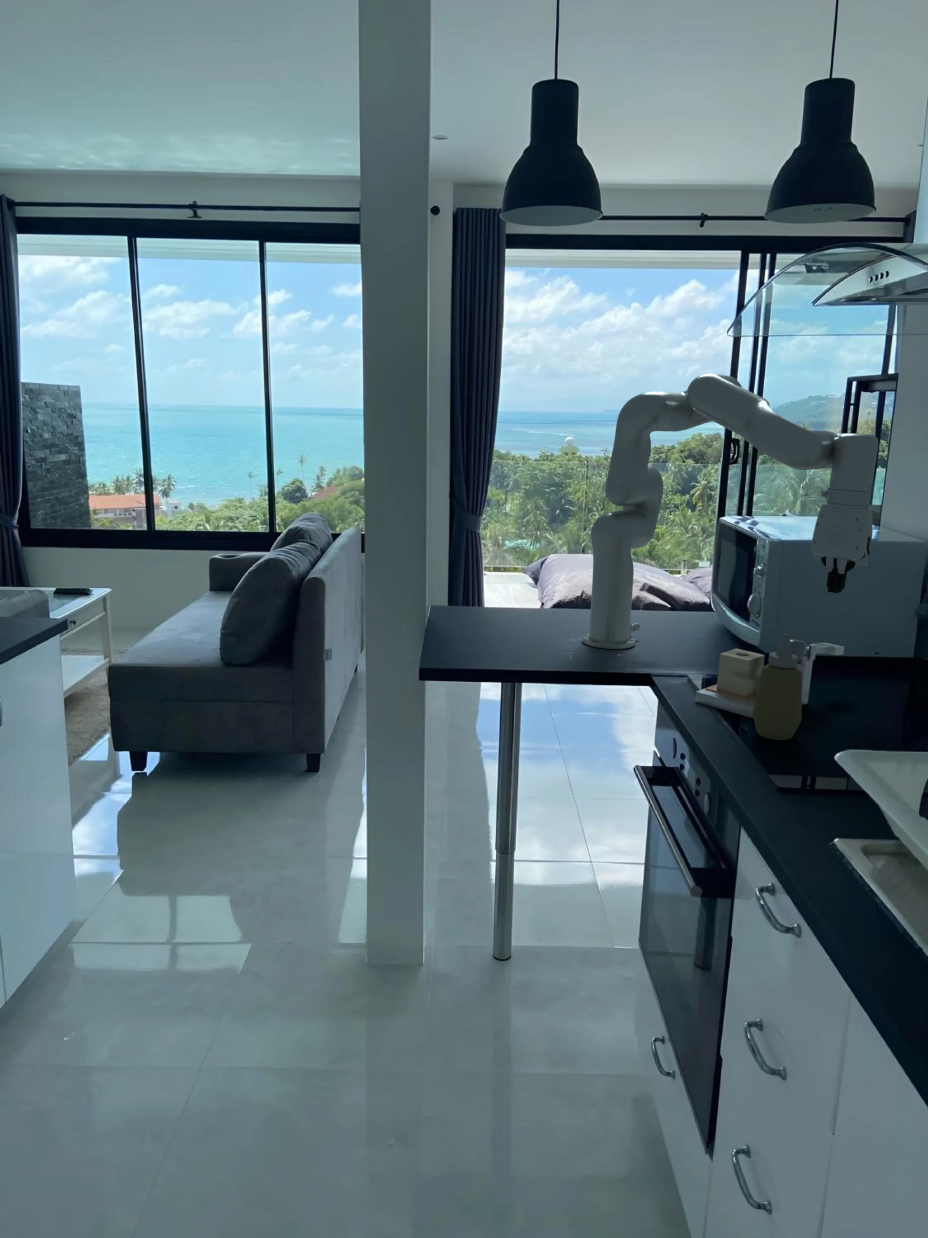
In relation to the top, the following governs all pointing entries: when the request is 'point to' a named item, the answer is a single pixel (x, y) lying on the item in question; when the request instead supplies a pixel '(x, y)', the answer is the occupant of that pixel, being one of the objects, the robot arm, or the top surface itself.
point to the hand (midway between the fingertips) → (834, 591)
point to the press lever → (802, 650)
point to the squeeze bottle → (779, 694)
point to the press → (746, 703)
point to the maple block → (739, 671)
